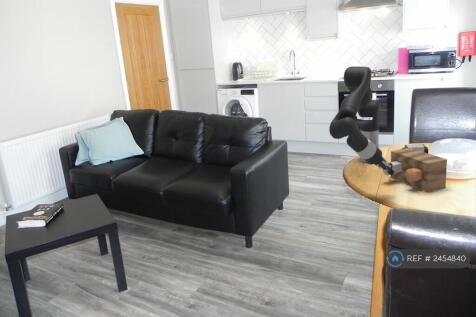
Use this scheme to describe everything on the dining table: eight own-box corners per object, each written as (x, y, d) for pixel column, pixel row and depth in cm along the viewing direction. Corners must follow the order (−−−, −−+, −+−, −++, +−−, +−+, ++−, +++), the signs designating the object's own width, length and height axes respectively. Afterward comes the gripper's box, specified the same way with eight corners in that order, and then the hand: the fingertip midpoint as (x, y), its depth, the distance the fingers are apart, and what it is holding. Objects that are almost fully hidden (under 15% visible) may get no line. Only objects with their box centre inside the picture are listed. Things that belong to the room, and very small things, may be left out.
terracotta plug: (405, 179, 178) (405, 167, 176) (424, 174, 181) (425, 163, 179) (414, 183, 172) (414, 171, 171) (434, 178, 176) (435, 166, 174)
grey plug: (382, 173, 188) (382, 161, 186) (401, 168, 191) (401, 157, 189) (390, 176, 183) (390, 164, 181) (410, 172, 186) (410, 160, 184)
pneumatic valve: (427, 167, 202) (428, 144, 198) (403, 168, 204) (403, 145, 201) (425, 163, 207) (425, 141, 203) (400, 164, 209) (401, 142, 206)
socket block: (390, 177, 193) (391, 151, 190) (407, 173, 196) (408, 147, 193) (427, 192, 173) (428, 163, 169) (445, 187, 176) (447, 159, 172)
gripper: (384, 147, 157) (408, 170, 165) (363, 140, 169) (387, 162, 177) (373, 162, 157) (397, 185, 165) (352, 154, 169) (376, 176, 177)
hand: (392, 173), depth 171 cm, fingers closed
